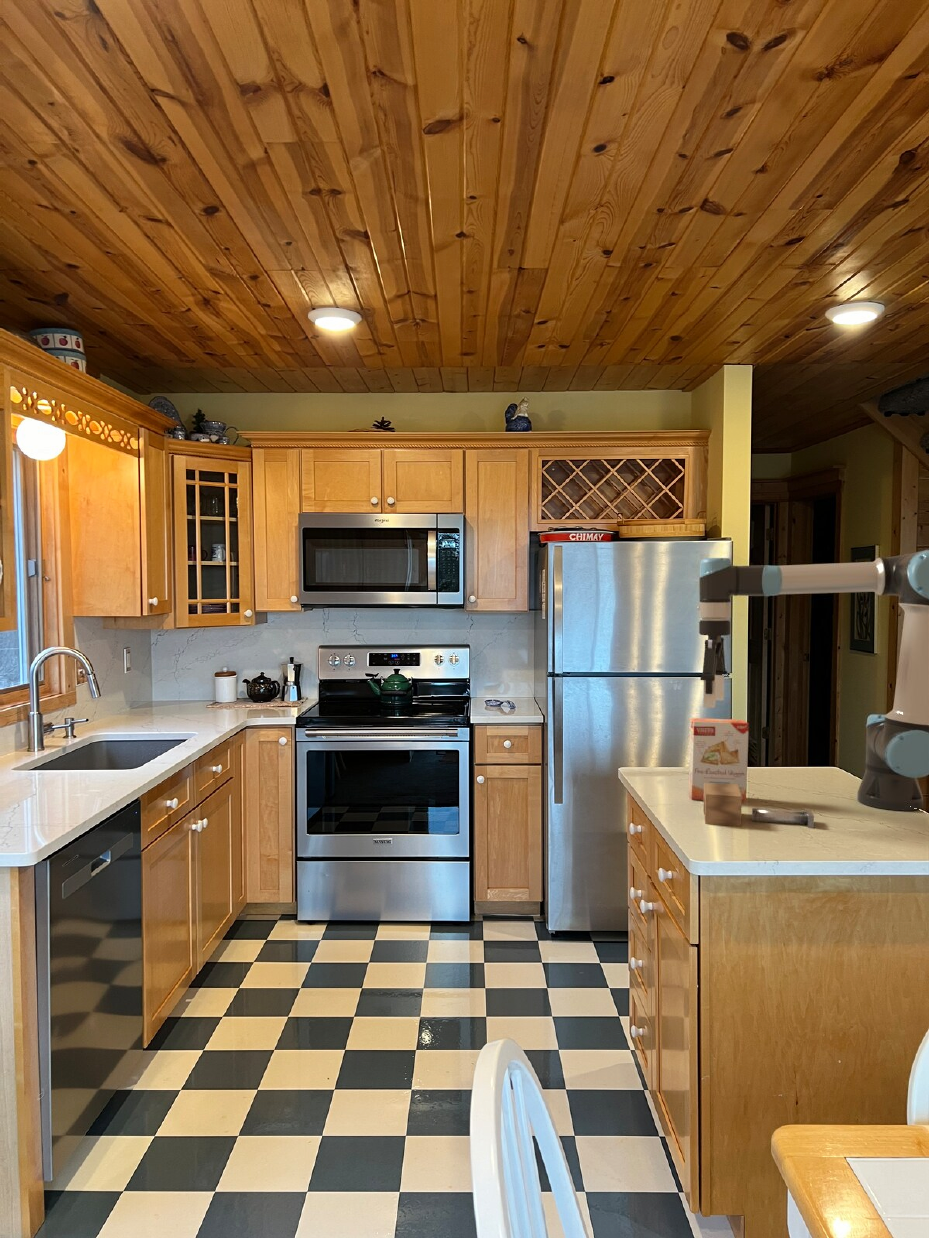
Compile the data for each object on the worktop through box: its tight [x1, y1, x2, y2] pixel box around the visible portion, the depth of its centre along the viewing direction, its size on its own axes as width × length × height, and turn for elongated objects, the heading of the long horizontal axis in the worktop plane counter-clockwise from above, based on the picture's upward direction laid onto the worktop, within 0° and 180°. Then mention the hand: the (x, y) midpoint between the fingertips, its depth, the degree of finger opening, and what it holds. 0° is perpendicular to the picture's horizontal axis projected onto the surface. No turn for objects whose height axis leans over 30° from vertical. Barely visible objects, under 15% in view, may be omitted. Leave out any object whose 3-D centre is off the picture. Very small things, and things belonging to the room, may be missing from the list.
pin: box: [751, 807, 815, 829], centre depth 198 cm, size 13×6×3 cm, turn 76°
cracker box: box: [688, 717, 750, 803], centre depth 219 cm, size 14×6×21 cm, turn 83°
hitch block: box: [702, 783, 743, 827], centre depth 201 cm, size 8×12×7 cm, turn 166°
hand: (714, 703), depth 211 cm, fingers open, 13 cm apart
